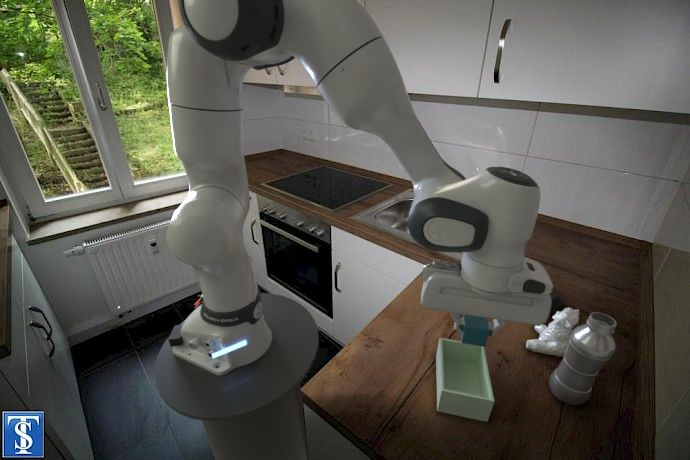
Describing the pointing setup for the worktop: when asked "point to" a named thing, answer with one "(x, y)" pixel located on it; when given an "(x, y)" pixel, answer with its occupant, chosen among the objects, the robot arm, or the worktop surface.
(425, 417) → the worktop surface
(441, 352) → the bin
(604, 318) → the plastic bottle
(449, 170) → the robot arm
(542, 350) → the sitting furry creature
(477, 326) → the block
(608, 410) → the worktop surface
